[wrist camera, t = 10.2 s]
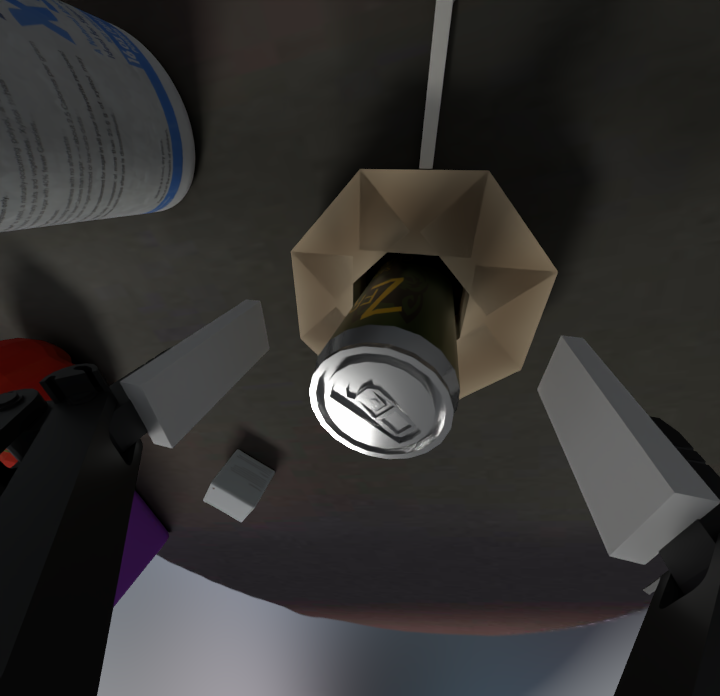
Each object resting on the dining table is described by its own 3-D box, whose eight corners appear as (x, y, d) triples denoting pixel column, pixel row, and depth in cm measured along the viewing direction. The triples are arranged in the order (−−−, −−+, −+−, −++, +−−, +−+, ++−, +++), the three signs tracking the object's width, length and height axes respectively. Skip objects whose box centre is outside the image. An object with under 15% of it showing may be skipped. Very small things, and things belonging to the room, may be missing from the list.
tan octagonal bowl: (309, 169, 17) (281, 168, 14) (565, 172, 14) (596, 171, 12) (322, 360, 25) (305, 385, 22) (494, 387, 22) (501, 420, 19)
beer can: (470, 292, 19) (499, 426, 9) (409, 339, 21) (379, 479, 12) (414, 231, 18) (374, 303, 8) (358, 288, 20) (276, 395, 11)
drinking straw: (451, -138, 11) (451, -151, 10) (537, -156, 10) (541, -170, 10) (419, 168, 16) (419, 168, 15) (475, 169, 15) (476, 169, 15)
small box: (226, 467, 38) (200, 501, 34) (237, 446, 35) (210, 482, 31) (263, 488, 39) (241, 525, 35) (277, 470, 36) (255, 508, 31)
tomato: (138, 425, 38) (48, 499, 30) (59, 400, 40) (-48, 461, 31) (101, 340, 31) (-33, 404, 22) (6, 313, 33) (-152, 363, 24)
